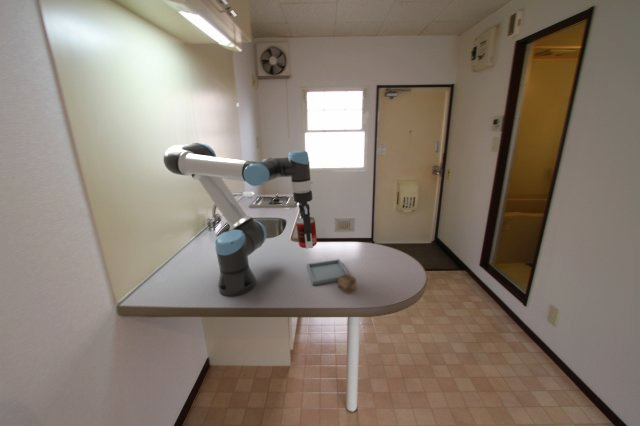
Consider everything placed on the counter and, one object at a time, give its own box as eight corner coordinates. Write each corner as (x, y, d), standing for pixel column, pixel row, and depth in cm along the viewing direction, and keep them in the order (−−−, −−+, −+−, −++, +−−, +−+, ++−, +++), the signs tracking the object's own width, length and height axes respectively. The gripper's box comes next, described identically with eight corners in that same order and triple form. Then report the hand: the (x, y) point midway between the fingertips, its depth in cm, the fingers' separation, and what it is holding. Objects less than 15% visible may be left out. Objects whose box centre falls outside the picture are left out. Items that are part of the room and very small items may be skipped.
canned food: (318, 240, 119) (316, 216, 116) (315, 248, 111) (313, 222, 108) (301, 240, 120) (298, 217, 117) (297, 248, 113) (294, 223, 109)
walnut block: (346, 294, 108) (345, 282, 106) (338, 288, 112) (338, 277, 111) (355, 289, 110) (355, 278, 109) (348, 284, 114) (348, 273, 113)
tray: (312, 285, 114) (312, 281, 114) (306, 267, 129) (306, 263, 129) (349, 279, 117) (349, 275, 117) (339, 262, 132) (339, 259, 132)
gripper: (315, 195, 100) (321, 252, 106) (308, 185, 120) (313, 234, 126) (295, 197, 99) (301, 255, 105) (291, 187, 119) (296, 236, 125)
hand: (308, 243), depth 116 cm, fingers closed on canned food, 8 cm apart
